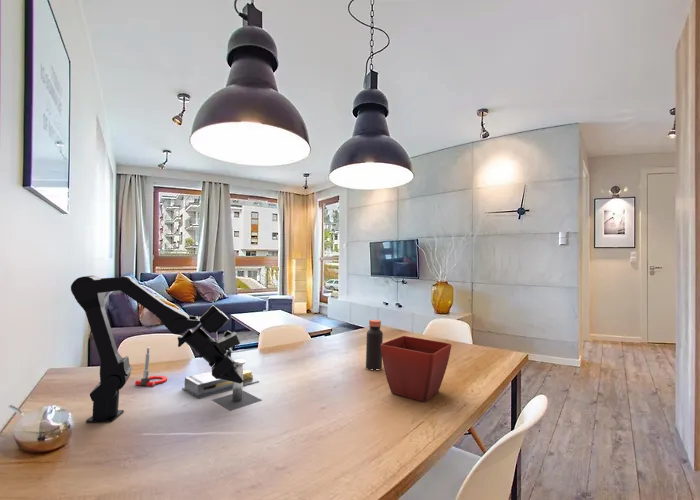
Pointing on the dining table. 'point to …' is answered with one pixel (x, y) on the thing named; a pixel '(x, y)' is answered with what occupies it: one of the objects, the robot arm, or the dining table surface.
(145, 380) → the tow hook
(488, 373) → the dining table surface
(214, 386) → the windowed slide housing
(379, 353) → the bottle
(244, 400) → the rubber mat
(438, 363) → the plant pot
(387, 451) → the dining table surface
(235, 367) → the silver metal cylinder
